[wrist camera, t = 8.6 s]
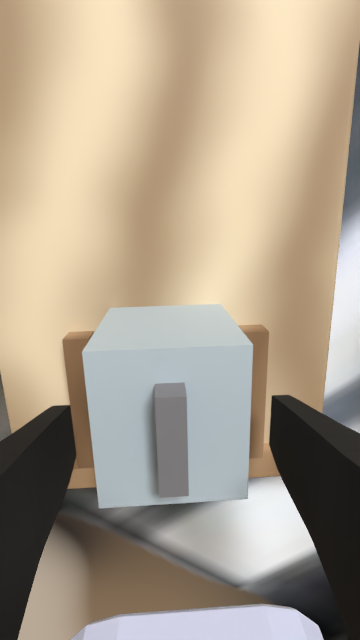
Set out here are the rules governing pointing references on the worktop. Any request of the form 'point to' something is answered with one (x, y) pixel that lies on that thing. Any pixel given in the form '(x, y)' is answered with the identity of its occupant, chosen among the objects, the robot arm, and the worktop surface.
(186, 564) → the worktop surface
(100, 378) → the cabinet block
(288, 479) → the robot arm
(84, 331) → the wall board
